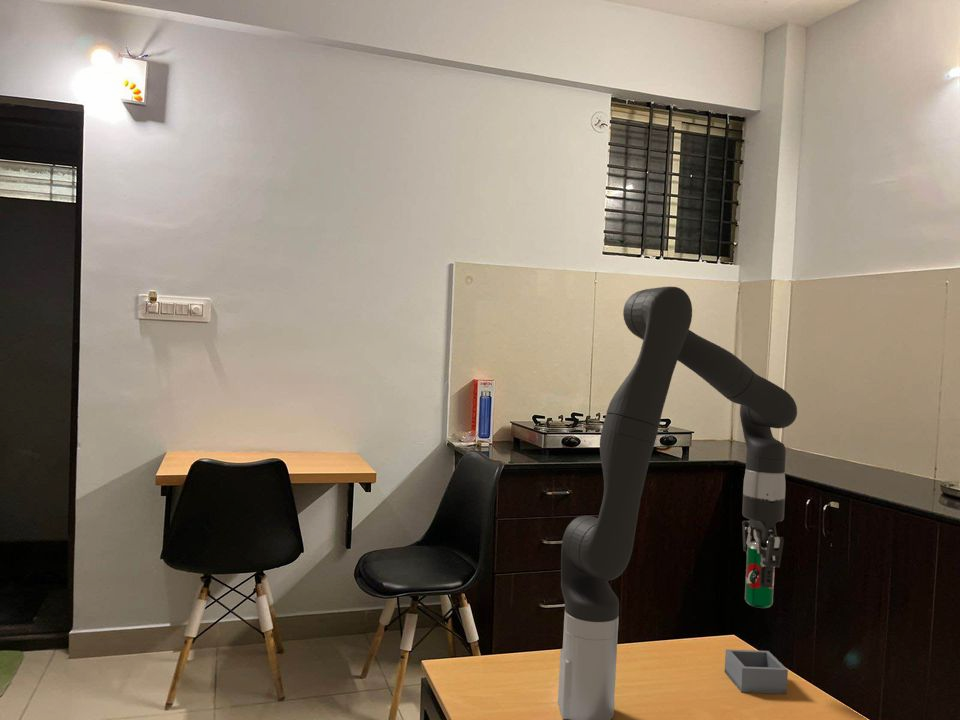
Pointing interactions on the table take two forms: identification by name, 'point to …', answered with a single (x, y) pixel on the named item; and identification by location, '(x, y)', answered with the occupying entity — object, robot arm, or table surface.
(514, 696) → the table surface
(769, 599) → the soda can
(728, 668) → the grey hollow square box
